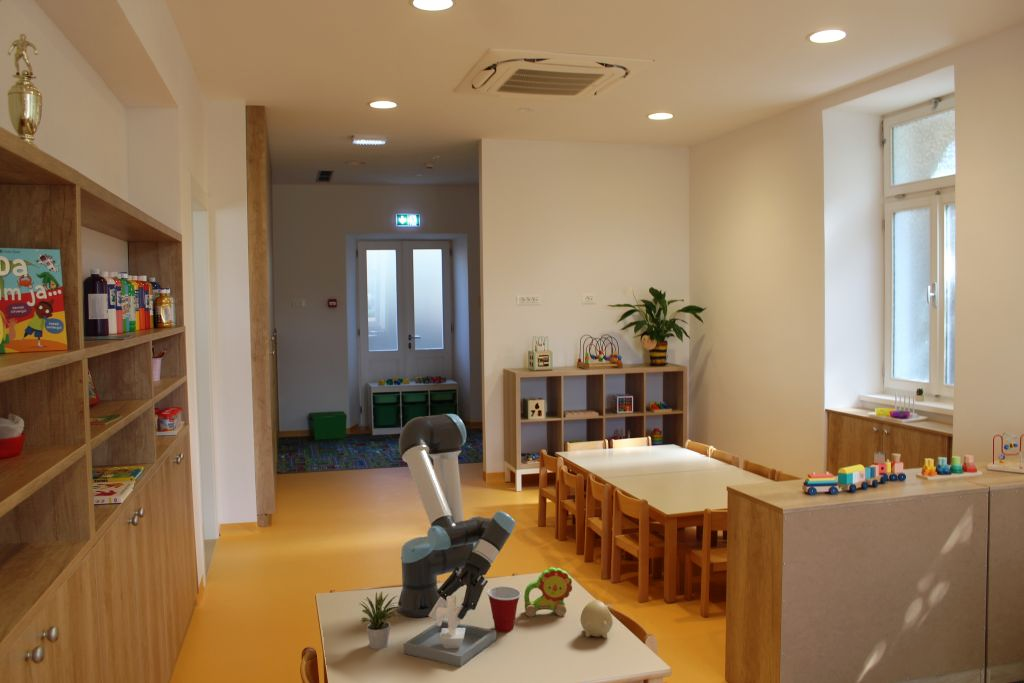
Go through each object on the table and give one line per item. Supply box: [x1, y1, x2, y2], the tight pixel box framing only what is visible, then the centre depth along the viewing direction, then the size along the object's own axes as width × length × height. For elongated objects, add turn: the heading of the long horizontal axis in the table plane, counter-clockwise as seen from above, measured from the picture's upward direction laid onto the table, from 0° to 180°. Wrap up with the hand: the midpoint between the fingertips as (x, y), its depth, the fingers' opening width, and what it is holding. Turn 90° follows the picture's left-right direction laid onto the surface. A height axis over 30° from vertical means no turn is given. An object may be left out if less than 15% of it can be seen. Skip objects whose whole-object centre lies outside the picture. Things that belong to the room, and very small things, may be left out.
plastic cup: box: [486, 585, 522, 633], centre depth 256 cm, size 11×11×12 cm
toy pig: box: [579, 599, 614, 639], centre depth 249 cm, size 10×12×11 cm
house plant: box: [359, 591, 399, 650], centre depth 244 cm, size 14×14×16 cm
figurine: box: [435, 594, 468, 648], centre depth 242 cm, size 7×9×15 cm
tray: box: [403, 619, 497, 668], centre depth 243 cm, size 20×20×3 cm
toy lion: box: [523, 566, 573, 618], centre depth 267 cm, size 16×5×15 cm, turn 92°
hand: (441, 622), depth 241 cm, fingers open, 9 cm apart
